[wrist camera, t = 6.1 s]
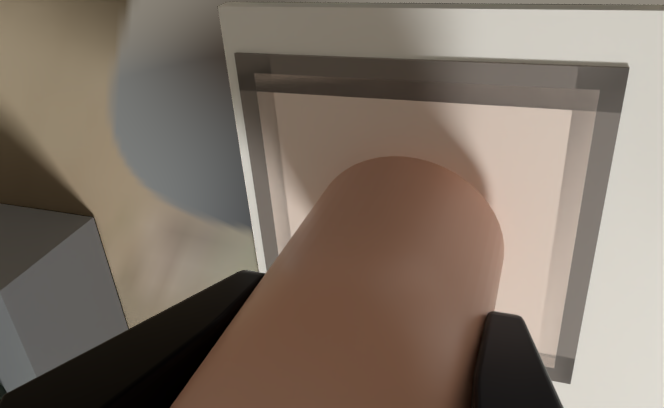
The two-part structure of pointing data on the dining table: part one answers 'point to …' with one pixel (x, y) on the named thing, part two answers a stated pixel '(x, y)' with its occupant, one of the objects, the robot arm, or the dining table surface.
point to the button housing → (51, 292)
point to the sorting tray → (483, 152)
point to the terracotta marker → (366, 300)
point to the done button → (2, 391)
